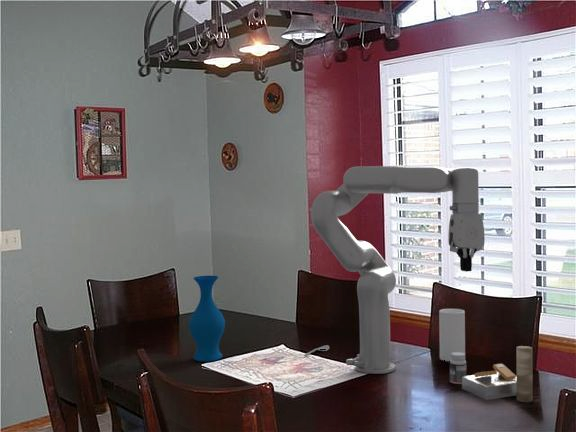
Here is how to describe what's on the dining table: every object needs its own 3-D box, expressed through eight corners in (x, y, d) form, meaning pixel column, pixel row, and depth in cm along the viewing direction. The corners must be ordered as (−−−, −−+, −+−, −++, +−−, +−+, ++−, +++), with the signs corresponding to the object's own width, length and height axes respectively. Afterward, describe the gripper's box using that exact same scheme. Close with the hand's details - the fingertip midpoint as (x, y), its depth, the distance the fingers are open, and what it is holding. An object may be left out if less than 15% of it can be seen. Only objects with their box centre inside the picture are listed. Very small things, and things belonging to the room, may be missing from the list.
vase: (232, 355, 230) (230, 275, 229) (213, 365, 218) (211, 280, 217) (202, 352, 235) (200, 274, 234) (182, 361, 223) (180, 279, 222)
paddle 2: (506, 379, 183) (507, 376, 182) (492, 367, 188) (493, 364, 187) (515, 378, 184) (515, 375, 183) (501, 366, 189) (502, 363, 188)
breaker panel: (487, 400, 177) (487, 383, 177) (462, 388, 187) (461, 373, 187) (528, 393, 182) (528, 377, 182) (502, 382, 193) (502, 367, 192)
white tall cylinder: (465, 362, 215) (465, 313, 215) (440, 361, 217) (439, 312, 216) (464, 355, 223) (463, 308, 223) (439, 355, 225) (438, 308, 224)
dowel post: (523, 403, 174) (523, 350, 174) (513, 398, 178) (513, 347, 177) (535, 401, 176) (535, 348, 175) (525, 396, 179) (525, 345, 179)
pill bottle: (447, 379, 196) (447, 352, 196) (463, 379, 197) (462, 351, 196) (453, 384, 192) (452, 356, 191) (468, 383, 192) (468, 355, 192)
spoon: (332, 350, 237) (332, 345, 236) (296, 363, 221) (296, 358, 220) (323, 348, 239) (323, 344, 239) (287, 361, 223) (287, 356, 223)
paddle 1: (488, 375, 180) (487, 371, 181) (475, 377, 186) (474, 373, 186) (497, 373, 182) (496, 370, 182) (483, 375, 187) (483, 371, 187)
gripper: (451, 210, 190) (452, 274, 191) (494, 208, 195) (494, 270, 196) (436, 209, 197) (437, 271, 198) (478, 208, 202) (478, 268, 203)
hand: (466, 270), depth 197 cm, fingers closed
